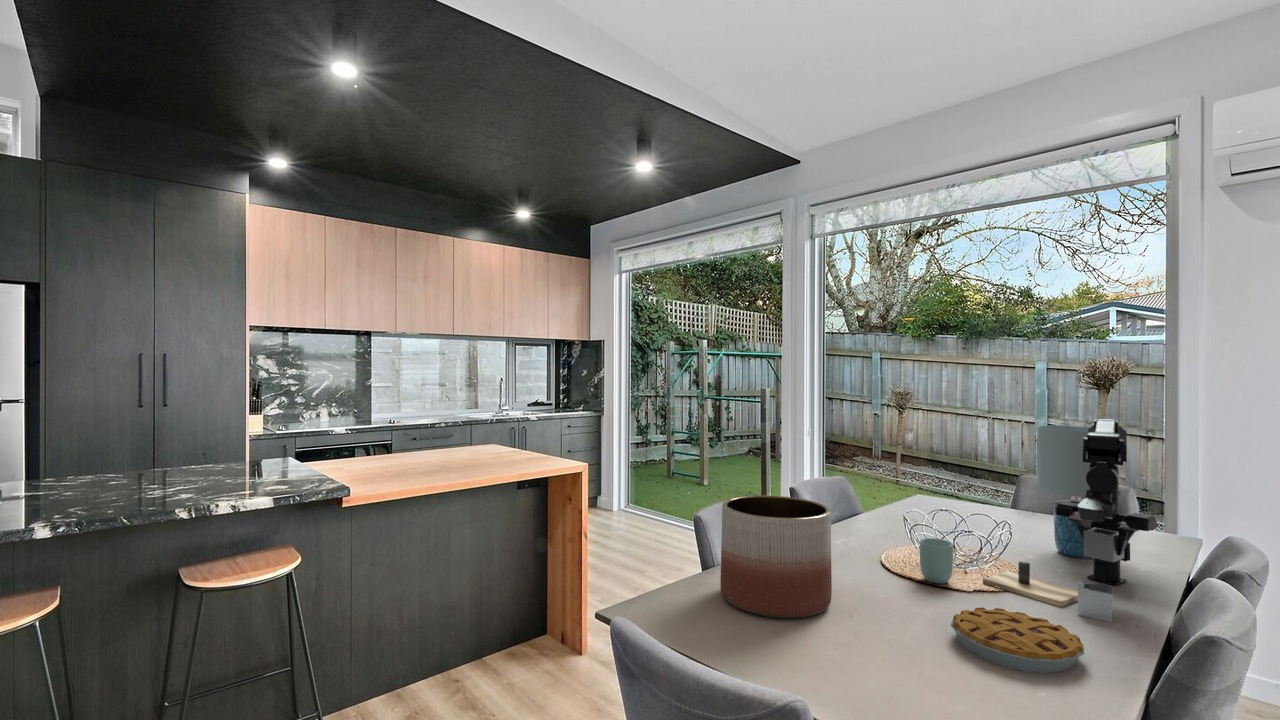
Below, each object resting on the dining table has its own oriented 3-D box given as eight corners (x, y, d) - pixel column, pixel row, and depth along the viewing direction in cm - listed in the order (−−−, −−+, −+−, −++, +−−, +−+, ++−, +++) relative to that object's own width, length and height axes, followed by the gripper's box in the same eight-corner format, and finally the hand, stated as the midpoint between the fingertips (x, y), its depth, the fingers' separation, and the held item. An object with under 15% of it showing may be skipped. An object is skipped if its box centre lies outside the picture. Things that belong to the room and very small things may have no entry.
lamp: (1096, 548, 188) (1096, 426, 189) (1131, 567, 169) (1131, 432, 170) (1027, 543, 192) (1027, 424, 193) (1054, 561, 174) (1054, 430, 174)
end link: (1094, 551, 148) (1094, 527, 149) (1124, 558, 143) (1124, 532, 144) (1083, 555, 145) (1083, 530, 145) (1113, 562, 140) (1113, 536, 140)
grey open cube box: (1079, 607, 140) (1079, 580, 140) (1112, 613, 136) (1112, 587, 136) (1078, 615, 135) (1077, 588, 135) (1112, 622, 131) (1111, 594, 131)
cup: (957, 587, 152) (957, 547, 152) (924, 584, 153) (924, 545, 153) (948, 577, 159) (948, 539, 160) (916, 574, 161) (916, 537, 161)
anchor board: (1008, 575, 161) (1008, 552, 161) (1085, 597, 146) (1085, 571, 146) (982, 583, 155) (982, 558, 155) (1061, 607, 140) (1061, 580, 140)
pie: (1033, 688, 103) (1033, 659, 104) (927, 636, 124) (927, 612, 124) (1110, 665, 112) (1110, 638, 112) (999, 620, 132) (999, 597, 132)
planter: (837, 591, 148) (838, 501, 148) (822, 631, 125) (823, 524, 125) (737, 575, 159) (737, 491, 159) (706, 609, 136) (707, 511, 136)
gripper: (1044, 483, 148) (1044, 546, 148) (1138, 496, 132) (1138, 568, 132) (1065, 479, 154) (1065, 540, 154) (1157, 491, 138) (1157, 560, 138)
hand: (1103, 551), depth 144 cm, fingers closed on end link, 6 cm apart
